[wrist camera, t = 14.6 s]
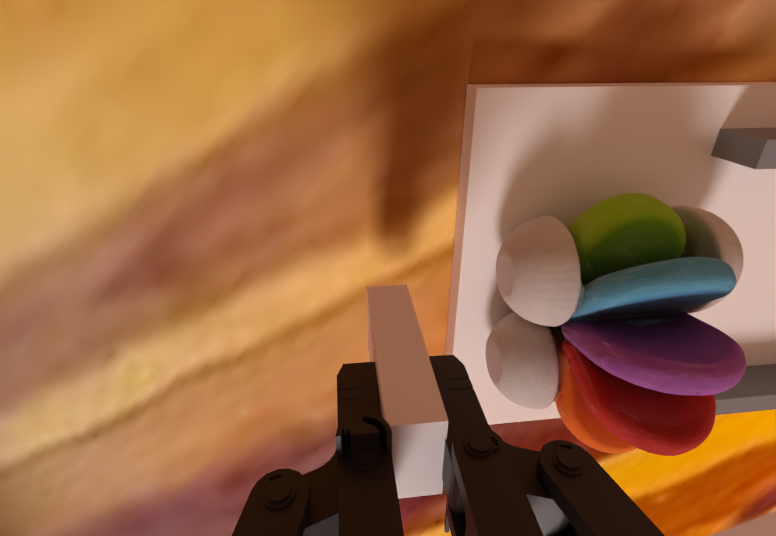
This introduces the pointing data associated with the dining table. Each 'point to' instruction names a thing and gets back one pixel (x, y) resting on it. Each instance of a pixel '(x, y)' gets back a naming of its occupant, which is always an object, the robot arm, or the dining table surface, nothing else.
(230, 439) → the dining table surface
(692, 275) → the multicolored rounded lobe cluster
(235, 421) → the dining table surface
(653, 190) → the board
